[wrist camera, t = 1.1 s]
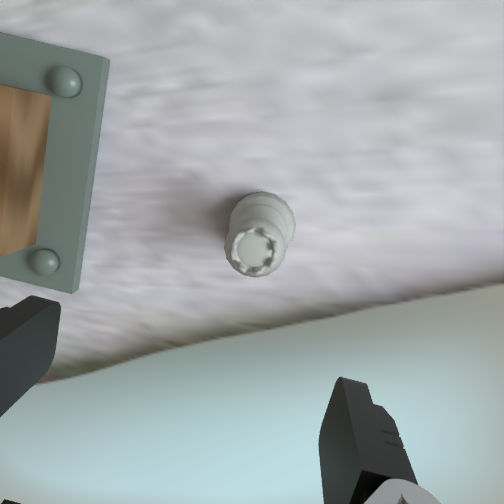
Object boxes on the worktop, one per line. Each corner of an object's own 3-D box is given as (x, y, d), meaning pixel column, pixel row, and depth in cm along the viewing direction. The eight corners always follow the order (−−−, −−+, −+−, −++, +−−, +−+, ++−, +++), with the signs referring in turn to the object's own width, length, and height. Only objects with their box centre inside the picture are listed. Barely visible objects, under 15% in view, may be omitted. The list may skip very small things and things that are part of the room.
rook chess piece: (295, 190, 29) (298, 207, 21) (295, 255, 30) (297, 294, 22) (229, 191, 29) (208, 208, 22) (230, 255, 31) (211, 293, 23)
